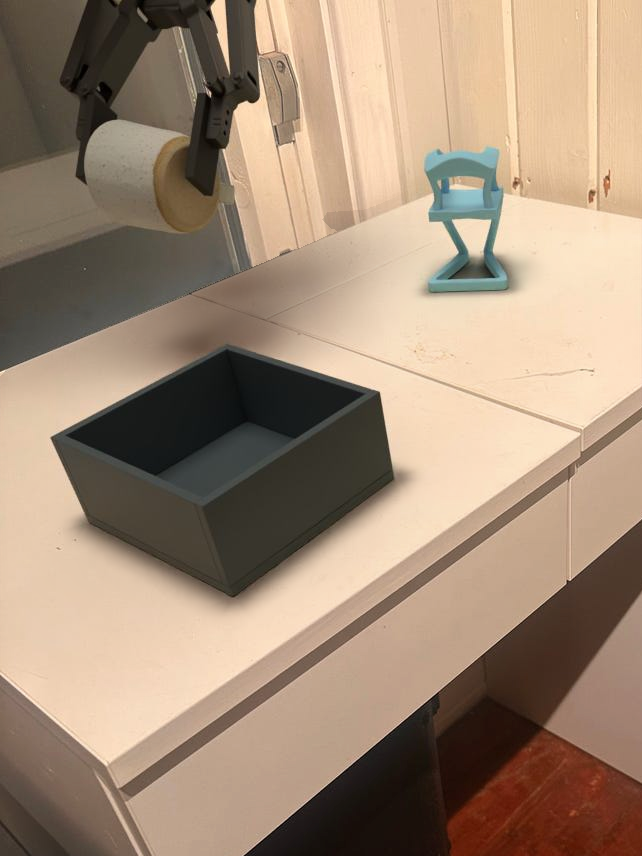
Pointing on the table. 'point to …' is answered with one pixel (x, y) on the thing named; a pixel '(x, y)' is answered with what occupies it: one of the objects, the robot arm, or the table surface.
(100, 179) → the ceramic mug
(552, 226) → the table surface
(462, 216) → the chair
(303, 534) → the tub
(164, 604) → the table surface
